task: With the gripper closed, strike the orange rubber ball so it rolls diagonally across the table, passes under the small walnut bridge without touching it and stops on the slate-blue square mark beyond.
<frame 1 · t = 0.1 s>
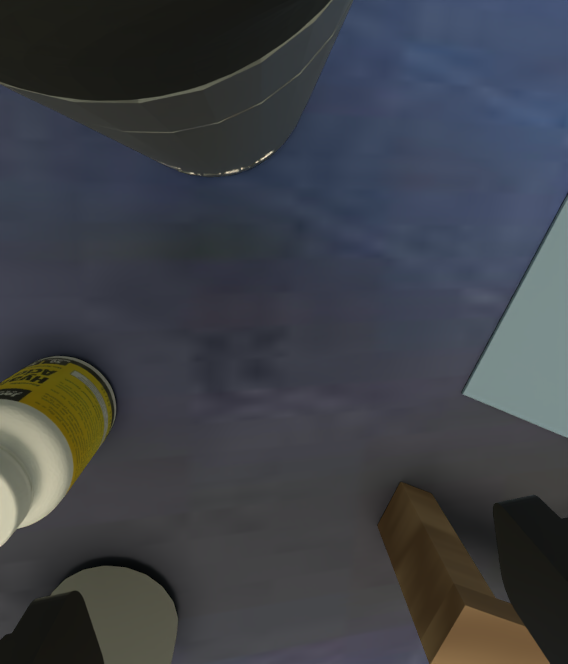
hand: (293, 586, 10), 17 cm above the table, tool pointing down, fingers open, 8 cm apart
supplement bottle: (67, 401, 27), on the table
bridge: (498, 544, 30), on the table
can: (116, 608, 30), on the table
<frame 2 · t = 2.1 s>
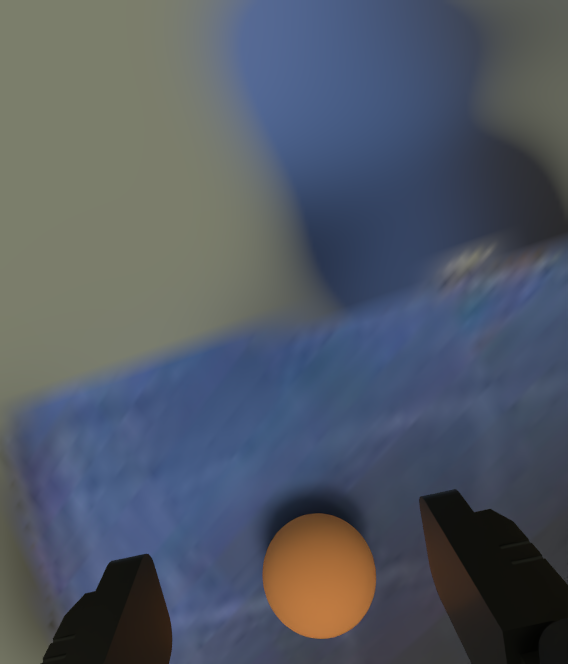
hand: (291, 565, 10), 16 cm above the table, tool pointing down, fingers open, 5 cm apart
ball: (318, 573, 25), on the table
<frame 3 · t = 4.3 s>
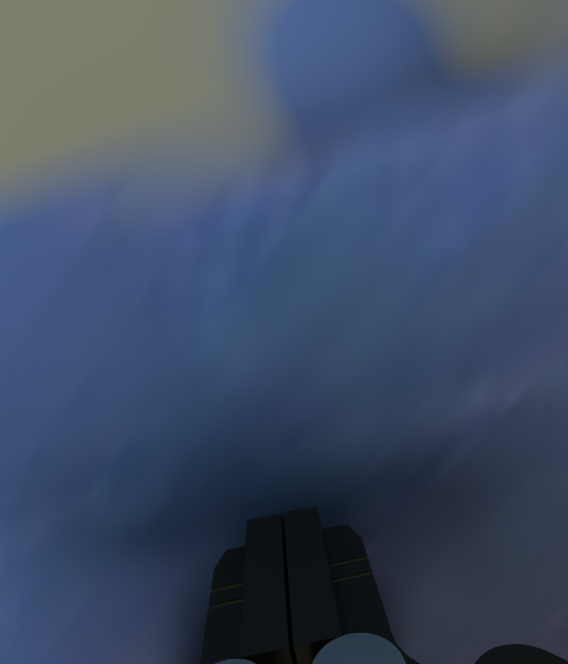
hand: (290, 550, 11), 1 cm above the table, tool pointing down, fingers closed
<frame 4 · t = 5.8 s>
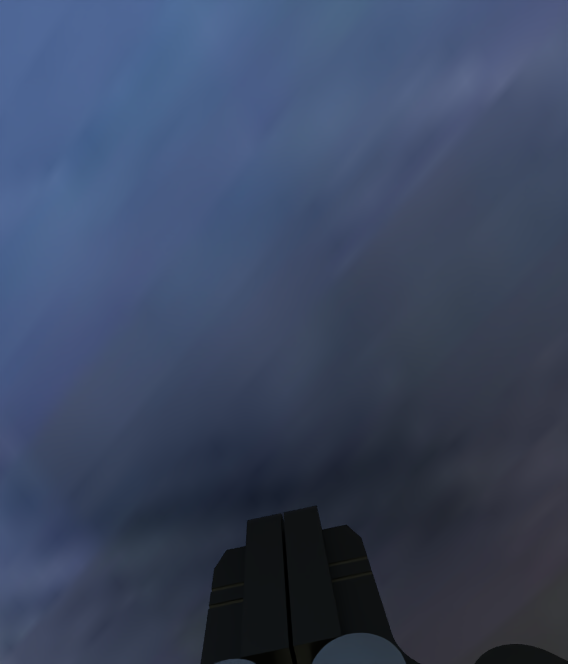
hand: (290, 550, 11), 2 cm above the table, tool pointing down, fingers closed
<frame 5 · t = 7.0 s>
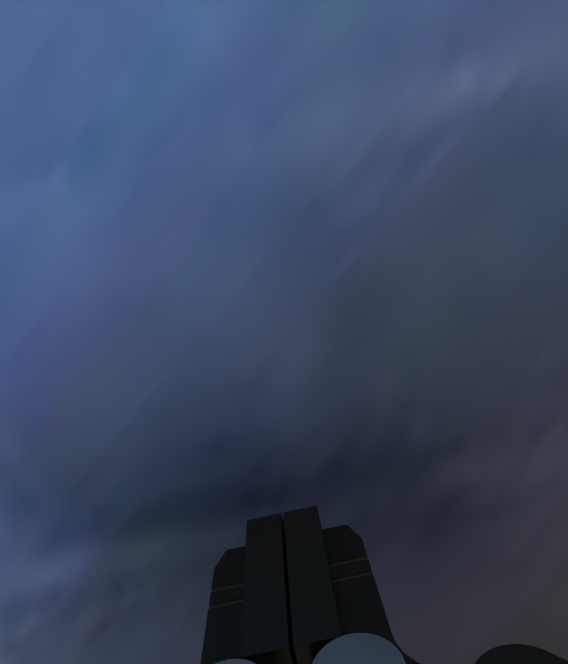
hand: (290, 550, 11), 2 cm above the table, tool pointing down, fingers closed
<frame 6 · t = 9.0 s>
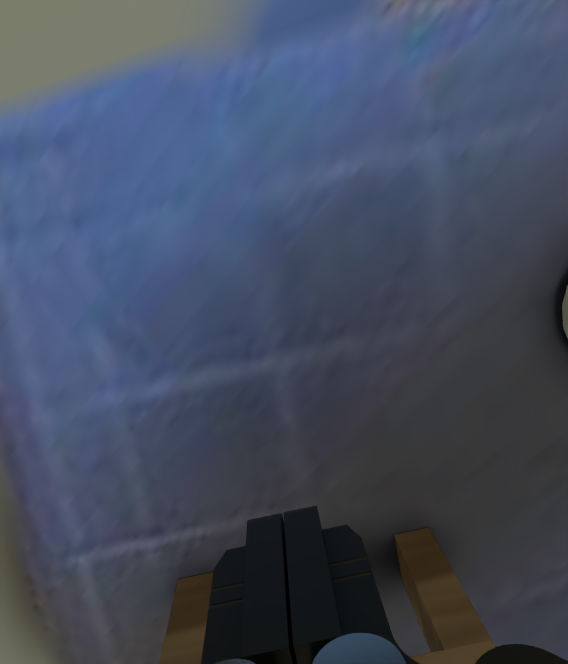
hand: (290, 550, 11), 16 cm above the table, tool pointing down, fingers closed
bridge: (308, 576, 29), on the table
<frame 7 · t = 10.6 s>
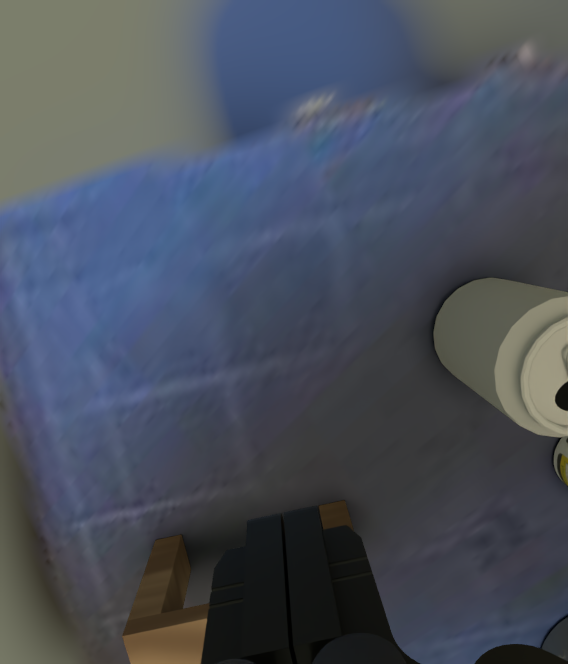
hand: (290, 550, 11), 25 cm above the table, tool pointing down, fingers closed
bridge: (254, 537, 38), on the table
can: (480, 328, 36), on the table
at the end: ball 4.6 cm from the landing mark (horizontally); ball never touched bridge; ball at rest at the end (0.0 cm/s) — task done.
